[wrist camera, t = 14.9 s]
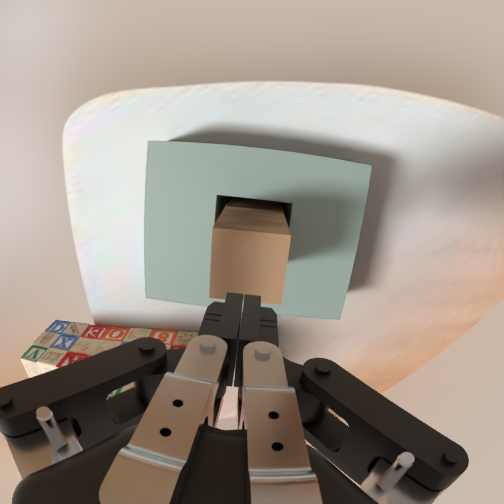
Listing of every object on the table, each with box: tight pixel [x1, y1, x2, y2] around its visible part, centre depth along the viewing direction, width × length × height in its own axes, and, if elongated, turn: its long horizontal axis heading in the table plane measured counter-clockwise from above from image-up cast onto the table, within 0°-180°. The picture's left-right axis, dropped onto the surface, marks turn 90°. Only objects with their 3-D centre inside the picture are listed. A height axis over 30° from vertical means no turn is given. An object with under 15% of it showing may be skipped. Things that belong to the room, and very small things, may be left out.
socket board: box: [144, 141, 372, 320], centre depth 27 cm, size 18×14×5 cm
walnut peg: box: [209, 196, 291, 305], centre depth 24 cm, size 5×5×12 cm
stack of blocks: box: [21, 320, 199, 399], centre depth 30 cm, size 21×6×12 cm, turn 91°
